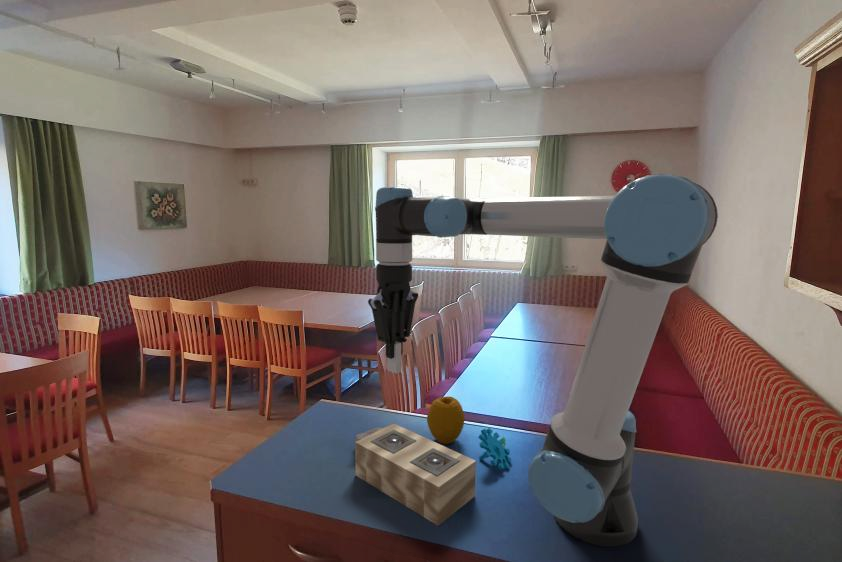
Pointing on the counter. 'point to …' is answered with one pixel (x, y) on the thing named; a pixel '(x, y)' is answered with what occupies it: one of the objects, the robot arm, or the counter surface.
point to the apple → (445, 419)
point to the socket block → (416, 473)
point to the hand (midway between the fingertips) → (394, 371)
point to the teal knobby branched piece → (494, 449)
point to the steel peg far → (393, 441)
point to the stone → (367, 433)
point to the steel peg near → (435, 462)
